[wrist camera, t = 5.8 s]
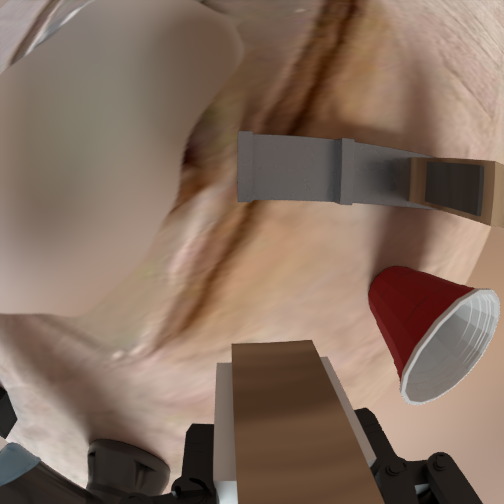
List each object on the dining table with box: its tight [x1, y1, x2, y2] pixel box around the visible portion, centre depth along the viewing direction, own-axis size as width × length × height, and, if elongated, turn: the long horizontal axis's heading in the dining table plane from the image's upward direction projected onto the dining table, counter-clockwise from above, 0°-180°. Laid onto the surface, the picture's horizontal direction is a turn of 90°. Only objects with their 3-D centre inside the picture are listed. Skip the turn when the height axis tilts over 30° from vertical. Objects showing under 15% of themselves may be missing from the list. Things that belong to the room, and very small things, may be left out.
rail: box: [238, 131, 438, 210], centre depth 21 cm, size 20×5×4 cm, turn 89°
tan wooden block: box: [232, 340, 385, 504], centre depth 9 cm, size 4×4×10 cm
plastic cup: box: [368, 266, 500, 405], centre depth 20 cm, size 11×11×12 cm
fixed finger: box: [409, 157, 504, 227], centre depth 16 cm, size 4×4×10 cm
